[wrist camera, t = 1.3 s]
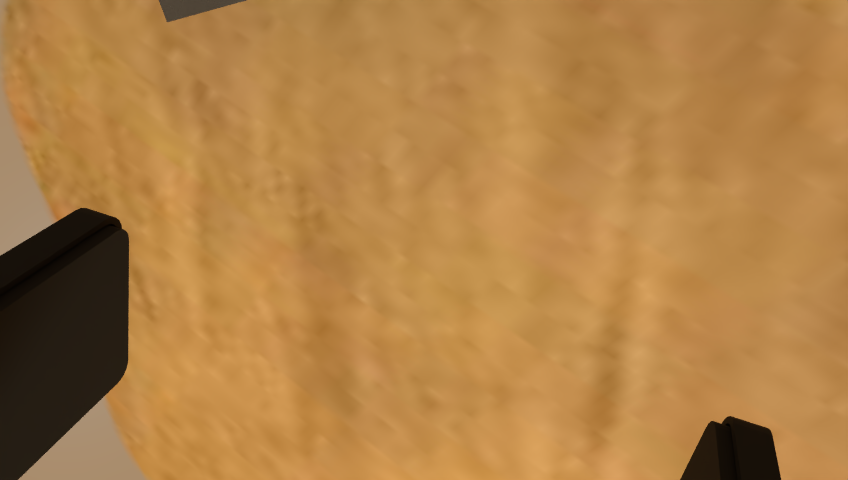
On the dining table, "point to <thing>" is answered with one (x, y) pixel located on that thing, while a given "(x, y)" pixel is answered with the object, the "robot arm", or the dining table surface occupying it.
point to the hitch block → (191, 7)
